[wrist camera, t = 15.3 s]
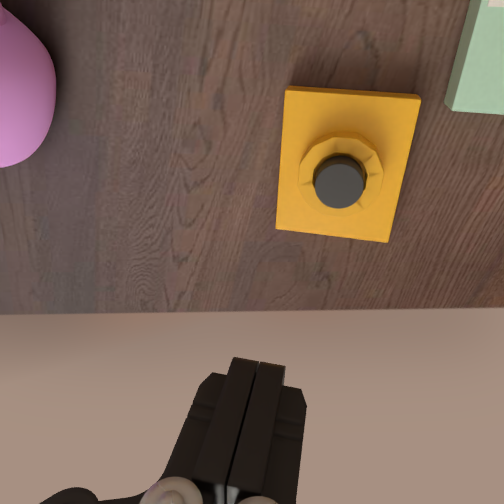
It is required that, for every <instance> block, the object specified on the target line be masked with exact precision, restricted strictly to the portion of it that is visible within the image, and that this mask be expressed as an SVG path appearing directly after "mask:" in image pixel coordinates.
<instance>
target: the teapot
mask: <svg viewBox="0 0 504 504" xmlns="http://www.w3.org/2000/svg"><path fill="white" fill-rule="evenodd" d="M55 102H56V76H55V70H54V65H53V62H52V59H51V57H50V55H49V53H48V51H47V49H46V48H45V46H44V45H43V44H42V42H41V41H40V40H39V39H38V38H37V37H36V36H35V35H34V34H33V33H32V32H31V31H30V30H29V29H28V28H27V27H26V26H25V25H24V24H23V23H22V22H20V21H19V20H18V19H17V18H16V17H15V16H14V15H12V14H11V13H10V12H9V11H7V10H6V9H5V8H3V7H2V5H1V2H0V168H1V167H7V166H11V165H14V164H16V163H19V162H21V161H23V160H25V159H27V158H28V157H29V156H31V155H32V154H33V153H34V152H35V150H36V149H37V148H38V147H39V146H40V145H41V143H42V142H43V140H44V139H45V137H46V135H47V133H48V131H49V128H50V126H51V122H52V118H53V115H54V109H55Z"/></svg>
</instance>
